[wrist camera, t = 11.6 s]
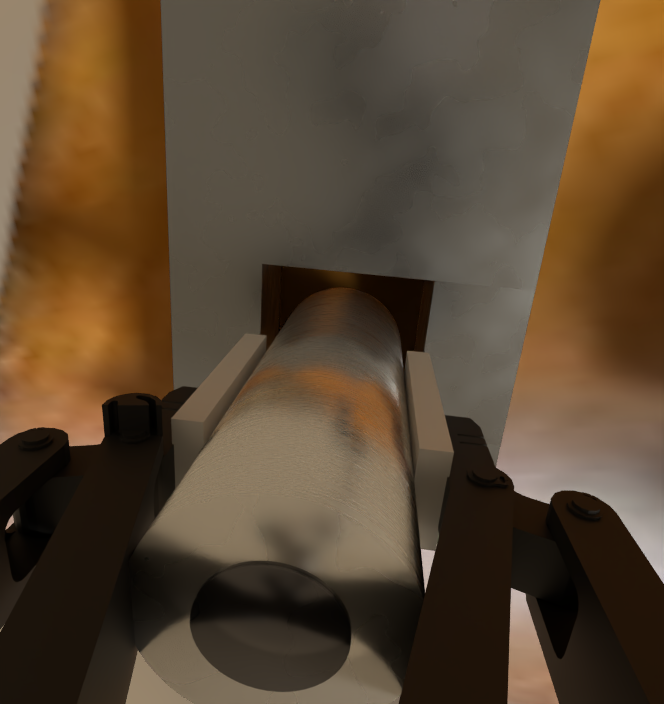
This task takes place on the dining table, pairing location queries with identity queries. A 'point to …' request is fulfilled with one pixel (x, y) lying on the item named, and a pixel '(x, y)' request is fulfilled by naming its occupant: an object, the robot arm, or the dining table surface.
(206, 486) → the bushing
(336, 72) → the jig
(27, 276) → the dining table surface
